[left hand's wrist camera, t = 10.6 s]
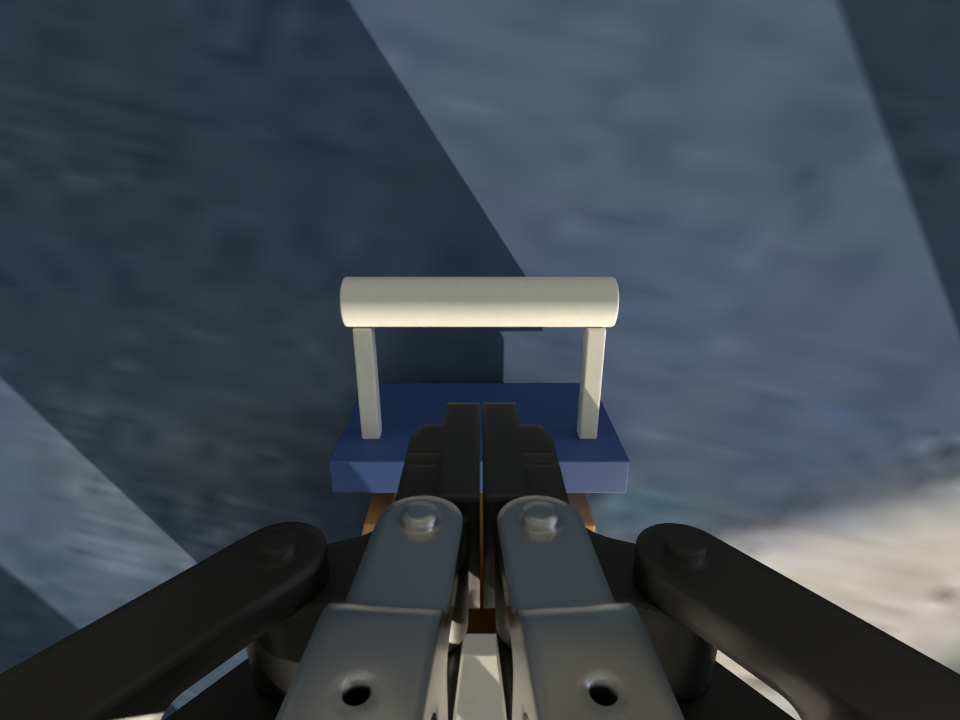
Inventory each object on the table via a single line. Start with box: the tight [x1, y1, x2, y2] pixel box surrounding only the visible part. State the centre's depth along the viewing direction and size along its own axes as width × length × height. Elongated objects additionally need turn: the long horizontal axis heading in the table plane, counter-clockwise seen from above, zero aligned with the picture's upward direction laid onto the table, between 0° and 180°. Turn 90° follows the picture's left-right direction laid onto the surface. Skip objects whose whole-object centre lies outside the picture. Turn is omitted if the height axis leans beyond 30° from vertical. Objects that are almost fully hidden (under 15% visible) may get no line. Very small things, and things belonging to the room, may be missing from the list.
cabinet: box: [361, 516, 597, 720], centre depth 26 cm, size 16×11×8 cm, turn 0°
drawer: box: [329, 277, 630, 634], centre depth 22 cm, size 21×10×6 cm, turn 0°
